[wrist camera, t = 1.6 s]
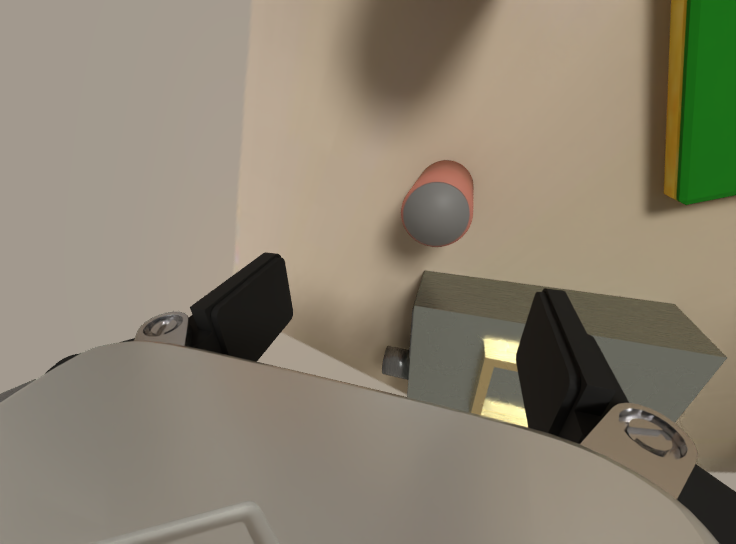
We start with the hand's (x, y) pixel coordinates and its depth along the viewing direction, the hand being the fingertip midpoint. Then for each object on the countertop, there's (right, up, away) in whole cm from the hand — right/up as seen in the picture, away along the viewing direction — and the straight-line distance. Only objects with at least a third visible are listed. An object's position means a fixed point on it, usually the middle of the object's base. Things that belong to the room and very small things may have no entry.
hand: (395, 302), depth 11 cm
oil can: (+5, +8, +14) cm, 17 cm away
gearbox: (+13, -6, +19) cm, 24 cm away
